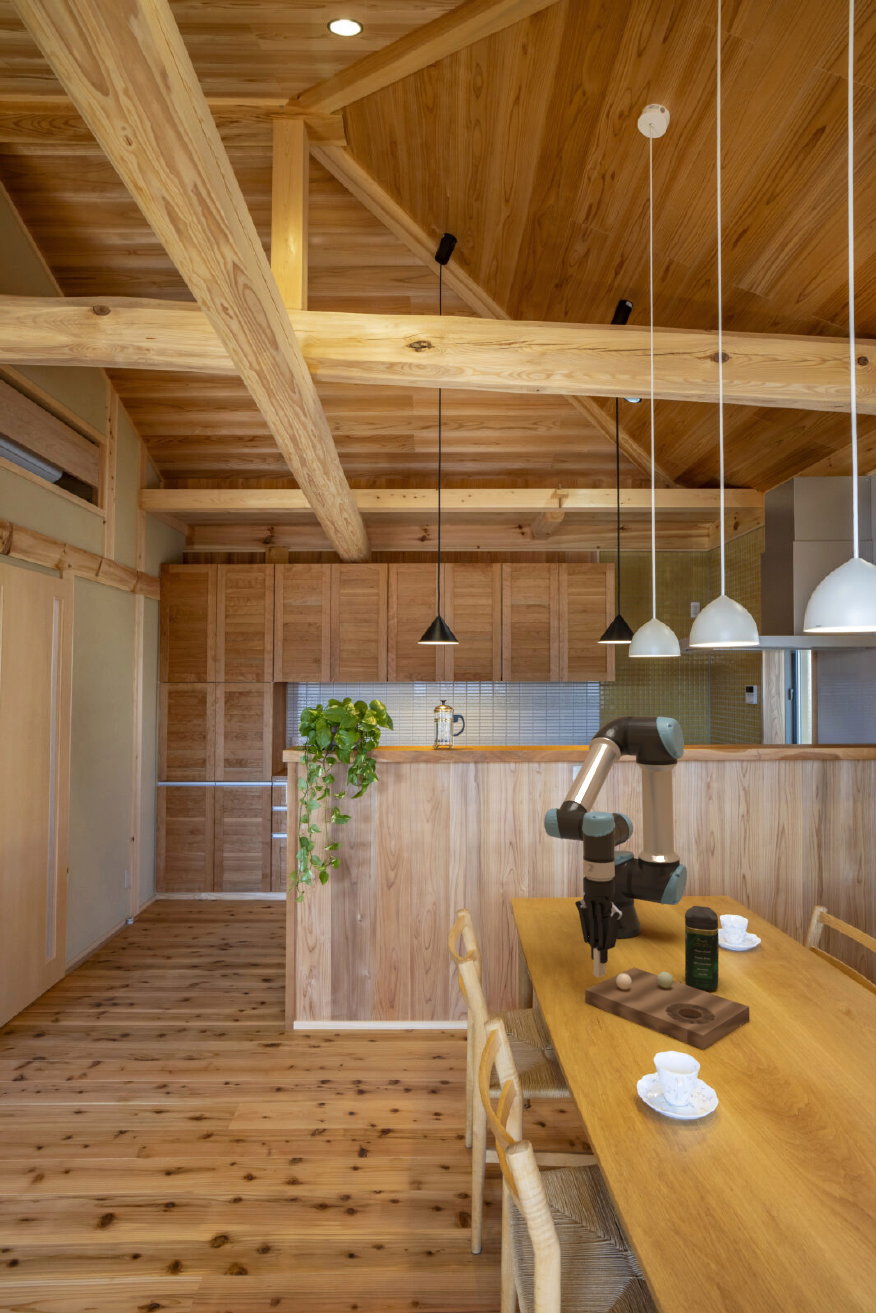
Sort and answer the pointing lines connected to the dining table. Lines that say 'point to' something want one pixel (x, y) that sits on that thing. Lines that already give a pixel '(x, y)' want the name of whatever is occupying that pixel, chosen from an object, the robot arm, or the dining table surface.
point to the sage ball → (665, 980)
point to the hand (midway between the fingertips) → (599, 974)
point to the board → (670, 1008)
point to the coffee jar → (701, 948)
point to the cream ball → (623, 981)
